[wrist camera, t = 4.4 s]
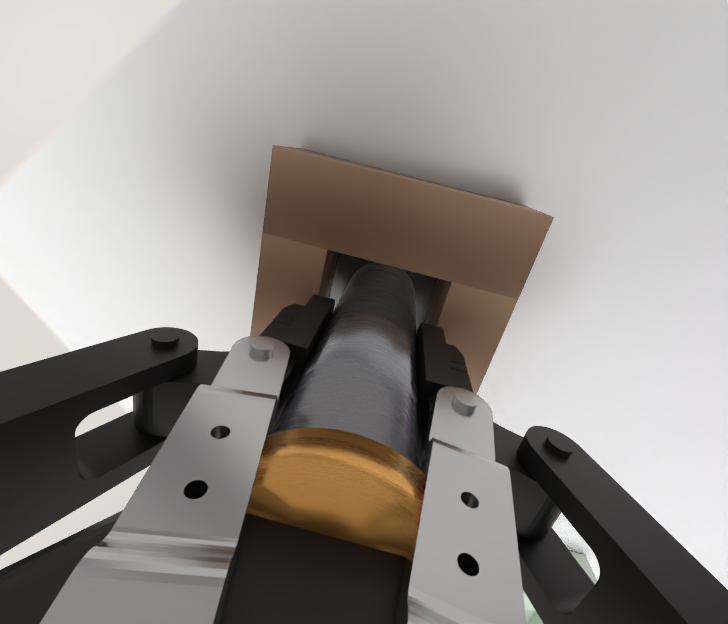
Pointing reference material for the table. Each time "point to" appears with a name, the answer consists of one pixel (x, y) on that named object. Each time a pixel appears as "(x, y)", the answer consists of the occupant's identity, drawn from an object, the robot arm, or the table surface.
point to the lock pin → (352, 424)
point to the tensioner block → (396, 244)
